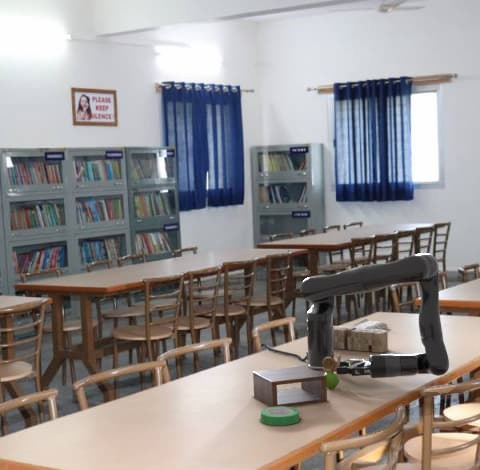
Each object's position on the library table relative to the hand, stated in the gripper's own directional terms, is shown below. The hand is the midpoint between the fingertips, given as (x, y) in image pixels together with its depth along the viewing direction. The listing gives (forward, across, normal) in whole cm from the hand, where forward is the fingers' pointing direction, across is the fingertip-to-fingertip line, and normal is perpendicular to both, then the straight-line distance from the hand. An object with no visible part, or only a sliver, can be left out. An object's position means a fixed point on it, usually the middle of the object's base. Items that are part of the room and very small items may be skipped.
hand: (334, 368), depth 305 cm
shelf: (+16, +12, +7) cm, 21 cm away
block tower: (-16, -63, +7) cm, 65 cm away
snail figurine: (+1, 0, +7) cm, 7 cm away
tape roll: (+21, +36, +7) cm, 42 cm away
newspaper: (-23, -93, +7) cm, 96 cm away
